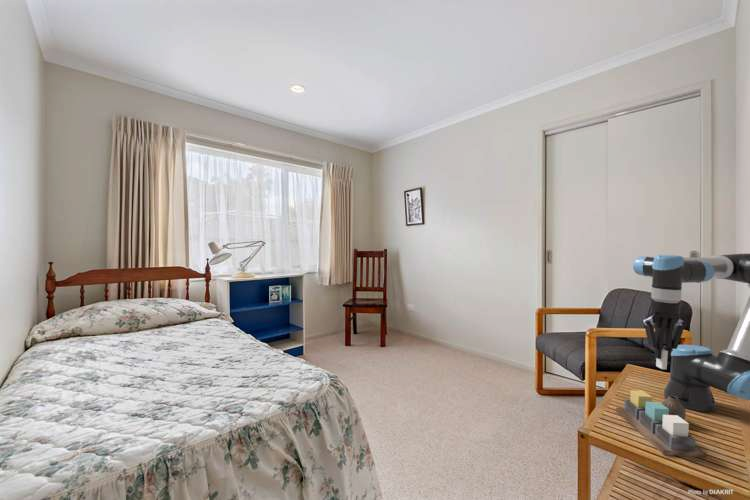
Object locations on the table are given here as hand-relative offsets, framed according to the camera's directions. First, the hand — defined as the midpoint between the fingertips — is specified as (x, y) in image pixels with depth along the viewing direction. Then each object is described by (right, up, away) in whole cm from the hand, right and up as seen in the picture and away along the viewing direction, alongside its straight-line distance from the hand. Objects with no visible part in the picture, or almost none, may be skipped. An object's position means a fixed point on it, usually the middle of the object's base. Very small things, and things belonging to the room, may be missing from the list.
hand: (661, 367), depth 110 cm
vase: (+12, -23, +9) cm, 27 cm away
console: (0, -23, +2) cm, 23 cm away
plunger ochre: (+1, -18, +10) cm, 20 cm away
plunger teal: (0, -19, +2) cm, 19 cm away
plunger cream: (-1, -19, -6) cm, 20 cm away
